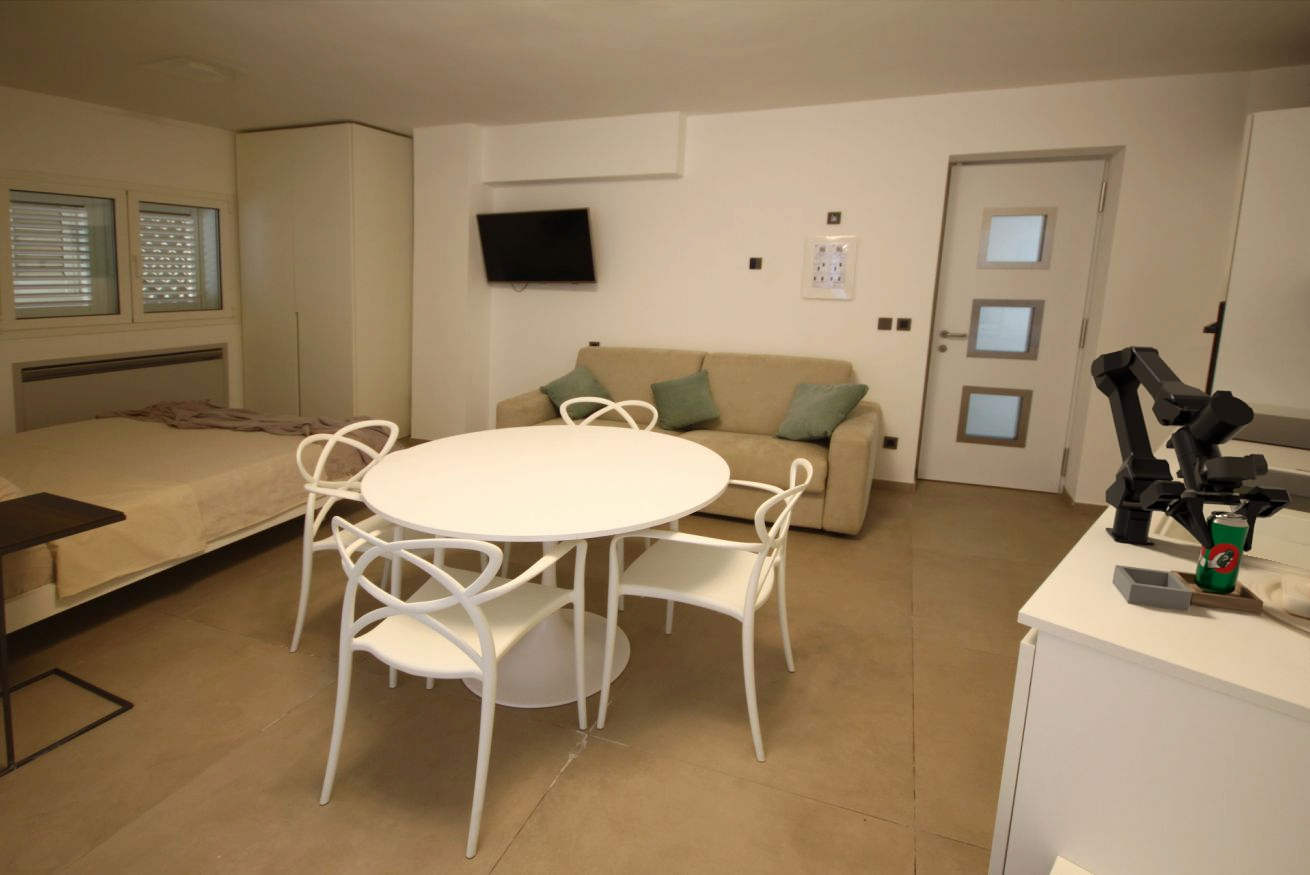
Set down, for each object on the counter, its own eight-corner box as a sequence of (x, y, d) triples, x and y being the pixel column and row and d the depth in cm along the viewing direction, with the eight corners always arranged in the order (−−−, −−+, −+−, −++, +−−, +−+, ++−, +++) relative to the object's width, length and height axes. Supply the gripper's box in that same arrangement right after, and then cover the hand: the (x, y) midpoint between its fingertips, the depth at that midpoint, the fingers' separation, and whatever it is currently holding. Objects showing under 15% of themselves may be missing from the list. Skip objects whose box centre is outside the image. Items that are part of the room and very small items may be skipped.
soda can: (1242, 595, 108) (1259, 520, 105) (1214, 597, 107) (1230, 521, 104) (1212, 581, 113) (1227, 509, 110) (1184, 582, 112) (1199, 510, 109)
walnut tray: (1168, 581, 115) (1171, 570, 115) (1233, 590, 113) (1235, 578, 112) (1190, 605, 107) (1193, 592, 107) (1260, 614, 105) (1263, 601, 104)
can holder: (1112, 582, 115) (1115, 564, 114) (1168, 589, 112) (1171, 571, 112) (1128, 602, 107) (1131, 584, 107) (1188, 611, 105) (1192, 592, 104)
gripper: (1163, 429, 109) (1190, 522, 101) (1298, 436, 107) (1337, 532, 99) (1128, 465, 119) (1151, 552, 111) (1251, 472, 116) (1283, 562, 108)
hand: (1228, 549), depth 107 cm, fingers closed on soda can, 5 cm apart
